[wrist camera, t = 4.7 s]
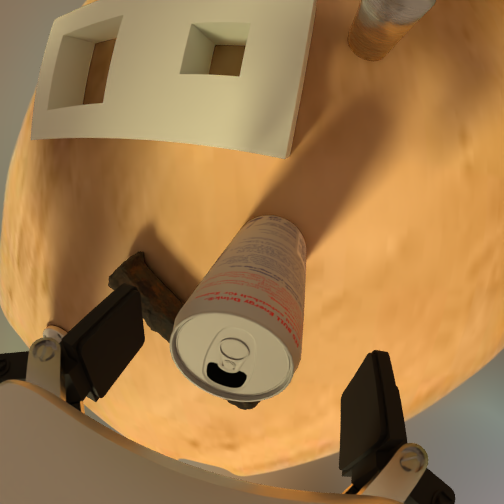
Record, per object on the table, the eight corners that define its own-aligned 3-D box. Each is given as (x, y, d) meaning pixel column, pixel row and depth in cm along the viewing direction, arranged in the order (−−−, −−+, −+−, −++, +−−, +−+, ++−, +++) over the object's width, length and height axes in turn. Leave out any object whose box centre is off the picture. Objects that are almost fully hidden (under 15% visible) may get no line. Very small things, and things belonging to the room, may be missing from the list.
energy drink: (229, 267, 22) (163, 378, 11) (245, 205, 20) (168, 285, 9) (293, 288, 21) (274, 416, 11) (316, 226, 19) (323, 334, 8)
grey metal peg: (385, 66, 14) (437, 19, 5) (345, 53, 14) (371, -7, 6) (389, 34, 12) (433, -22, 4) (349, 22, 13) (372, -46, 5)
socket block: (289, 156, 18) (284, 159, 14) (64, 135, 20) (30, 140, 16) (316, 9, 13) (317, -21, 9) (84, 28, 15) (54, 19, 11)
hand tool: (123, 266, 25) (94, 289, 20) (144, 244, 23) (114, 266, 19) (245, 390, 28) (236, 422, 24) (273, 380, 26) (266, 414, 22)
